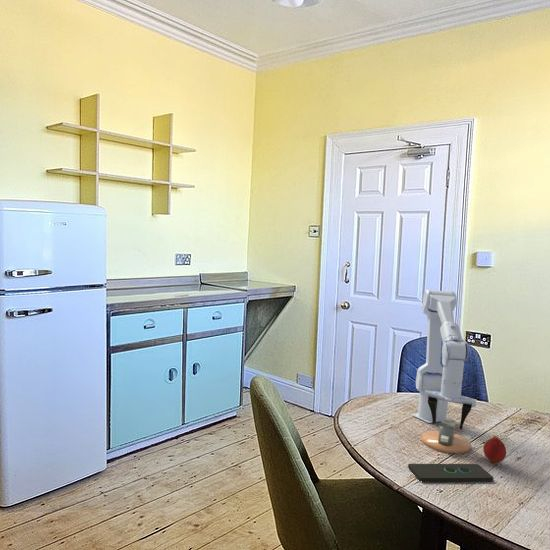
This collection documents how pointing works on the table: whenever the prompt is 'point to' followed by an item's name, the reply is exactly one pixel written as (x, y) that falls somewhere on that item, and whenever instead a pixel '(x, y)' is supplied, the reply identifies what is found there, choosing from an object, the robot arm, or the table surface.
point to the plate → (457, 447)
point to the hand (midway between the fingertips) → (447, 425)
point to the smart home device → (450, 473)
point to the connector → (446, 432)
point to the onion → (494, 450)
